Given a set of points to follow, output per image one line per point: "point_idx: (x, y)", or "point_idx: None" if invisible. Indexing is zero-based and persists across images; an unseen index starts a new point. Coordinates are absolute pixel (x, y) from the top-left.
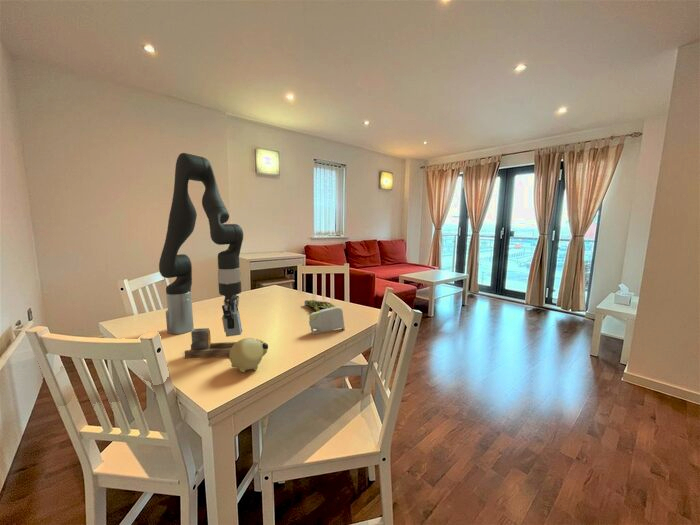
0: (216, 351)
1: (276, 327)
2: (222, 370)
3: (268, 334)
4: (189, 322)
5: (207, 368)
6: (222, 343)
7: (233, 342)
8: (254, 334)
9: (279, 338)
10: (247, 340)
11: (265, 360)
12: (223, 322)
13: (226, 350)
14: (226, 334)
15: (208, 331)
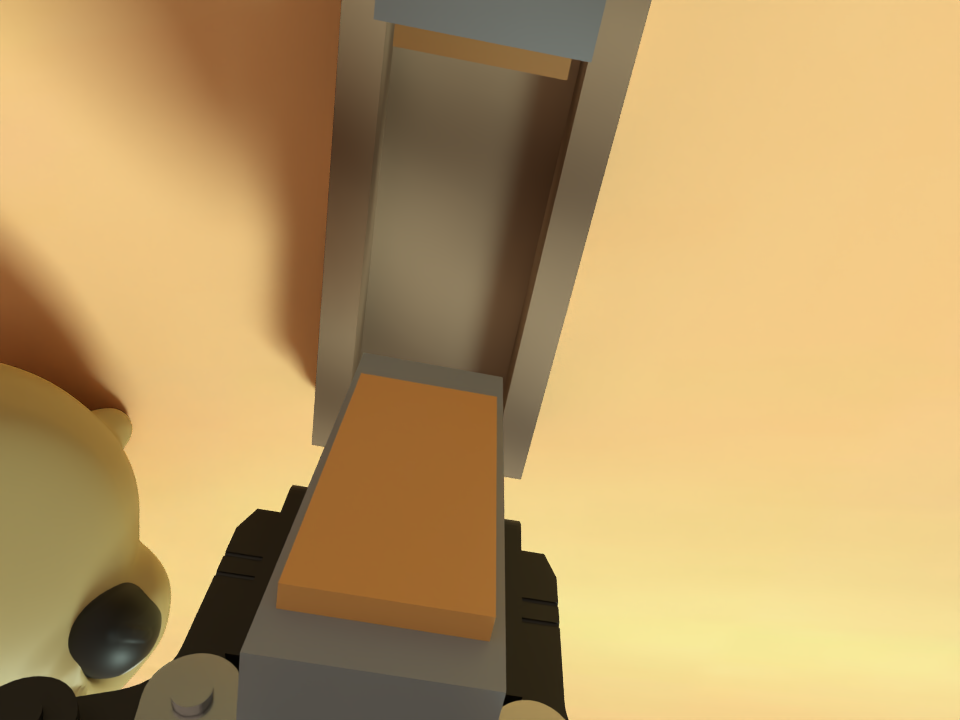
0: (337, 134)
1: (951, 671)
2: (4, 213)
3: (795, 603)
4: None
5: (42, 34)
6: (556, 204)
7: (541, 340)
8: (879, 495)
9: (641, 664)
10: None
11: (201, 547)
12: (311, 503)
13: (325, 265)
14: (353, 379)
15: (485, 54)
